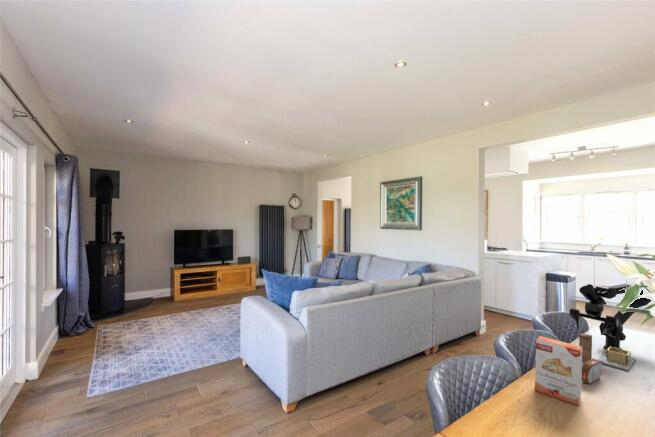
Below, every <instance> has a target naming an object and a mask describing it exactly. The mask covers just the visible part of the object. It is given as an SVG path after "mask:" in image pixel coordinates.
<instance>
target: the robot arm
mask: <svg viewBox="0 0 655 437" xmlns="http://www.w3.org/2000/svg"><path fill="white" fill-rule="evenodd" d="M633 284H634V283H630V282H625V283H622V284H617V285H610V286H609V285H608V286H607V285H596V286H595V287H594V285H593V284H590V283H588V284H586V285H583V286H581V287H580V288H578V290H579V293H580V294H581V295H582V297H584V299H585V300H587V301H588V302H584V311H585V312H584V313H583V312H581V311H580V309H576V308H570V309H569V311H568V313H569V316H570V318H571V319H573V320H574V321H575V323H576V329H577V330H579V329H580V327H581V326H580V325H581V321H582V320H581V318H585V319H591V320H594V321H598V322H601V323H600V324H599V330H600V336H605V341H604V342H605V344H604V345H603V347H602V348H604V349H606V350H607V349H608V348H609V347H610V346H611V347H615V348H619V349H623V348H622V347H621V342H622V341H623V342H624V341H626V338H627V335H626V334H625V333H624V332H623V331H624V325H625V323H626V322H627V321H628V320H629V319H630V318H631V317H632V315H633V314H635V312H626V313H624V314H622V313H621V312H620V311H619V310H618V311H617V312H616V313H615V314H614V316H611V315H606V316H605V317H603V316H602V314H603V312H604V305H607V302H606V300H605V299H608V300H610V299H611V300H612V299H613V298H616V296H617V295H621V294H626V293H625V290H621V289H623V288H626V287H629V286H631V285H633ZM619 290H621V291H619ZM643 290H644V289H643ZM643 290H642V291H641V293H640V295H642V294H643ZM651 302H652V301H651V300H650V299H647V298H640V299H637V300H635V301H634V302H633V303H632V304H630V306H629V307H633V308H638V309H639V308H641V307H645V306H648V304H650V303H651Z"/></svg>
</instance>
